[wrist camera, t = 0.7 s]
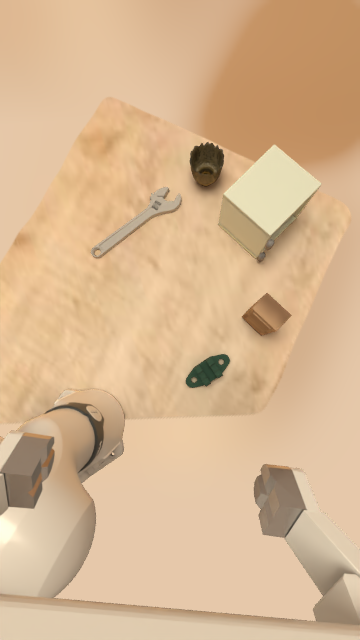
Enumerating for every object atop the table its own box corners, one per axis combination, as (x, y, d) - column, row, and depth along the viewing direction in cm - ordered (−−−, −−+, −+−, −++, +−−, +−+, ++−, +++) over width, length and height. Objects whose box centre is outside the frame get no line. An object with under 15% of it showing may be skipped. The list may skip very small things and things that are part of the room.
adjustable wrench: (97, 261, 68) (94, 259, 67) (84, 240, 69) (81, 237, 68) (184, 205, 69) (184, 201, 67) (170, 185, 70) (169, 180, 68)
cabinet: (258, 264, 66) (273, 242, 53) (216, 226, 67) (221, 196, 54) (301, 221, 66) (327, 188, 53) (259, 184, 68) (274, 144, 55)
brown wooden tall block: (260, 336, 64) (275, 332, 52) (240, 317, 64) (251, 309, 52) (273, 322, 64) (291, 315, 52) (253, 304, 65) (267, 292, 53)
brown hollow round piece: (218, 196, 68) (221, 175, 60) (188, 193, 69) (187, 172, 61) (222, 167, 69) (226, 143, 61) (192, 164, 70) (192, 140, 62)
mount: (192, 392, 63) (192, 396, 58) (181, 375, 64) (180, 377, 59) (233, 365, 63) (236, 366, 58) (222, 348, 64) (224, 348, 59)
